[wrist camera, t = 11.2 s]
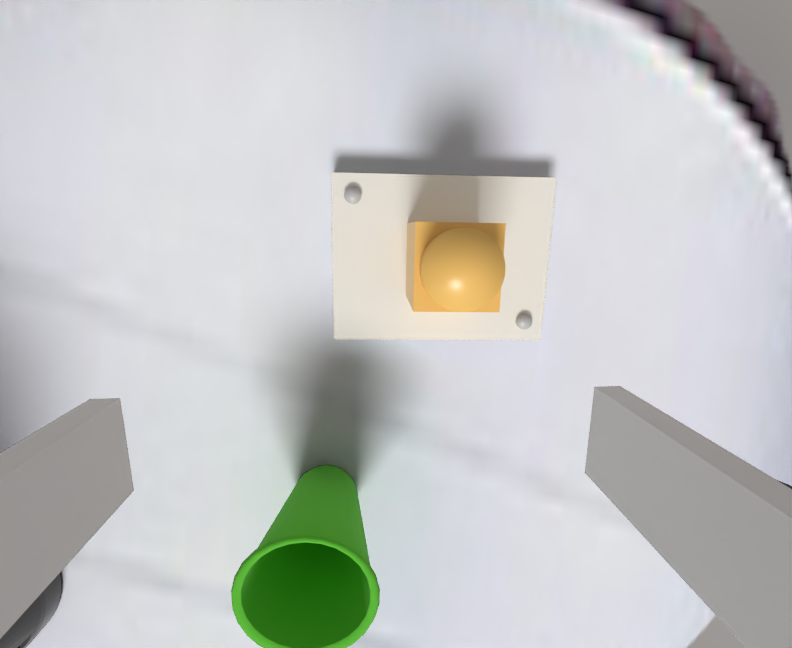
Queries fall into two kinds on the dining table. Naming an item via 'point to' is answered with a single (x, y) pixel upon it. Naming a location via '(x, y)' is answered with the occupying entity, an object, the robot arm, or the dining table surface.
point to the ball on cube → (455, 266)
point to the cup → (310, 570)
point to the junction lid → (387, 248)
